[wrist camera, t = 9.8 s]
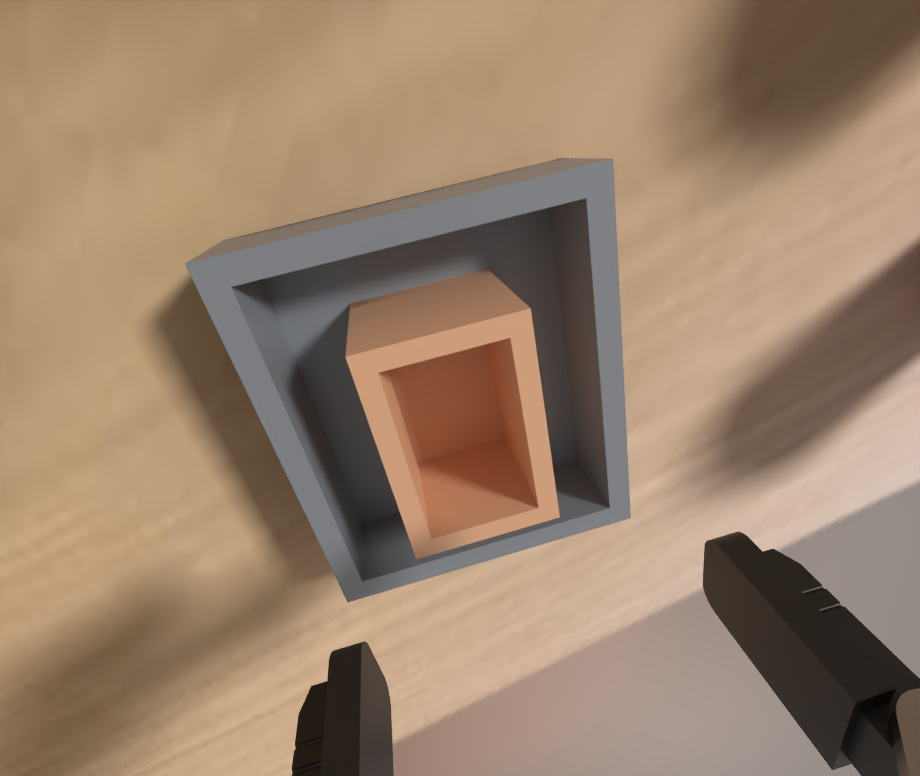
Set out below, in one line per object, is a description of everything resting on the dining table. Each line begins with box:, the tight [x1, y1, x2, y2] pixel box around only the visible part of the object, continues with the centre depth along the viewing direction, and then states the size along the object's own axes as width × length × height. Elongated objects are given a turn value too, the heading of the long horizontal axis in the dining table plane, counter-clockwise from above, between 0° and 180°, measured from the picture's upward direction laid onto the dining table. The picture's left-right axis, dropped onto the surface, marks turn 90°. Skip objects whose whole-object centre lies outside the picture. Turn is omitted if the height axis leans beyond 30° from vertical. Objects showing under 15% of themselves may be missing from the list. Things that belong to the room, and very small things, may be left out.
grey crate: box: [185, 158, 631, 602], centre depth 21 cm, size 14×16×4 cm
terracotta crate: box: [345, 269, 560, 559], centre depth 20 cm, size 6×9×6 cm, turn 11°
